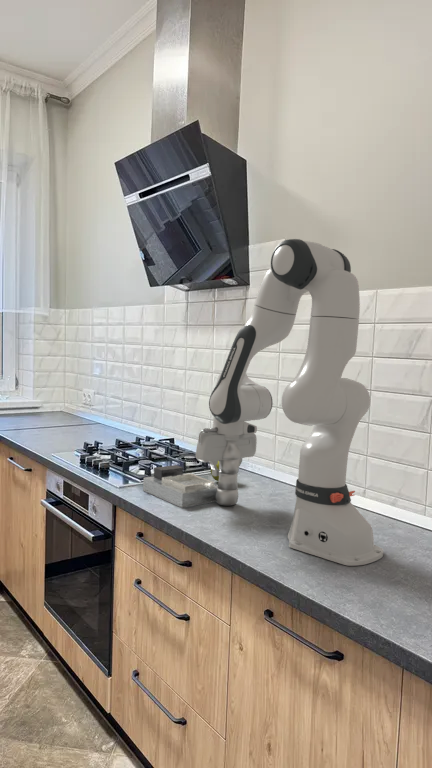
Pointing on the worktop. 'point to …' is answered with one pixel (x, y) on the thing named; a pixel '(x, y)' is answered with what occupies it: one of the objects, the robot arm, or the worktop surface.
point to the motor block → (180, 487)
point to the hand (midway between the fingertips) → (225, 474)
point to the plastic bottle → (228, 475)
